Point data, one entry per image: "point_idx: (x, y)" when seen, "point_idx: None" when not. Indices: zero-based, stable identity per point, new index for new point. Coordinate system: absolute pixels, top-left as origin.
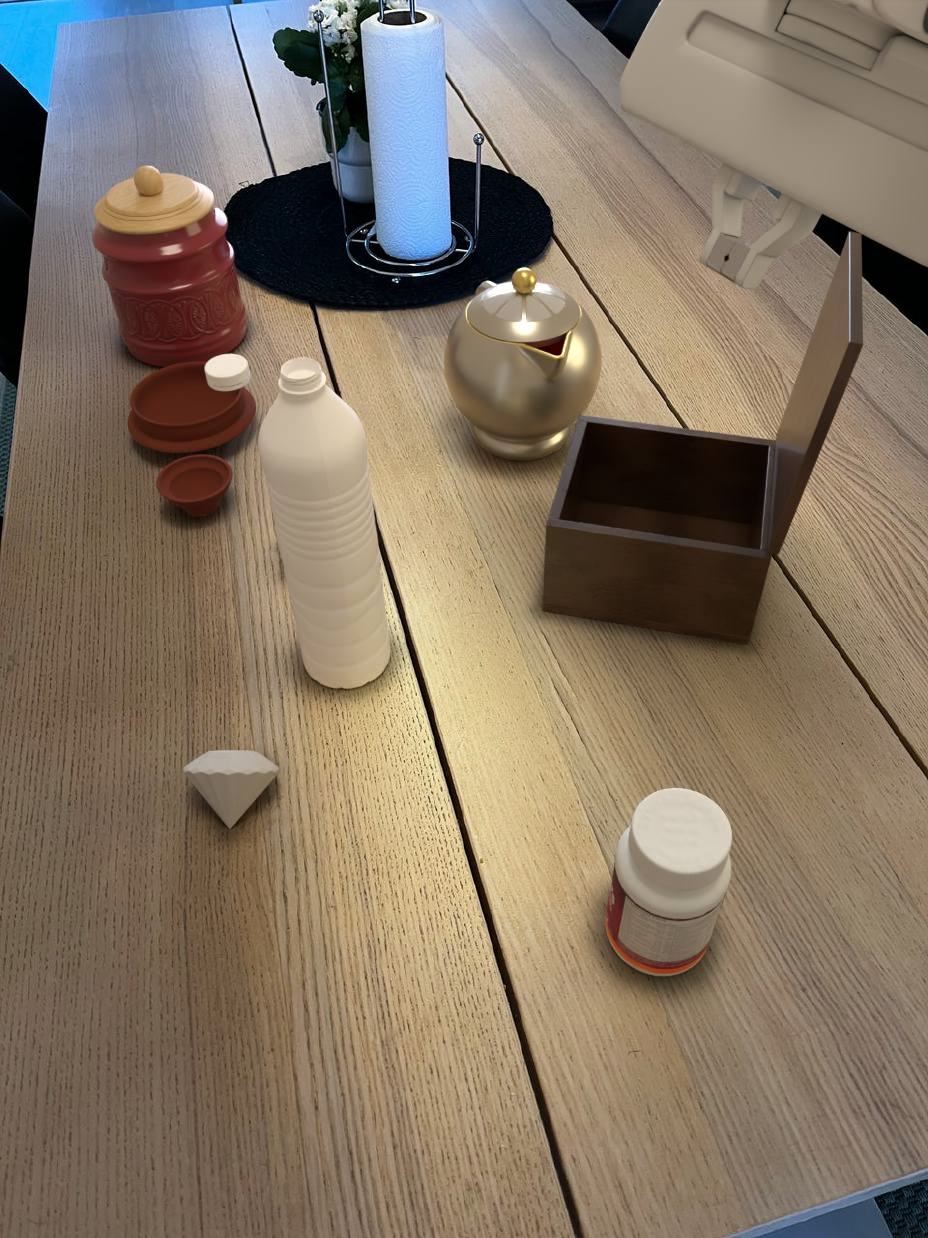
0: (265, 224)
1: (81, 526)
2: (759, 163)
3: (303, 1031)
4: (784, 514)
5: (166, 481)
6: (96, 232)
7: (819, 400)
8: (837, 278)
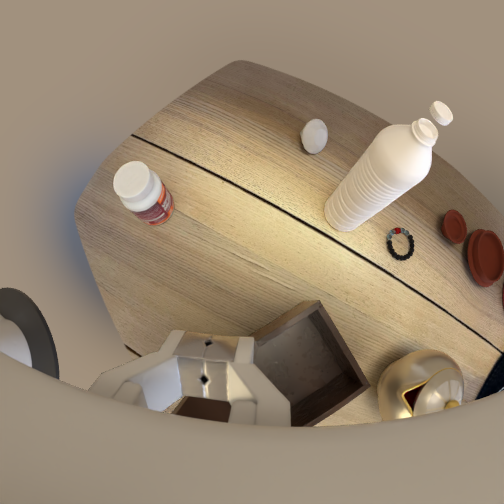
0: None
1: (455, 190)
2: (167, 429)
3: (222, 112)
4: None
5: (459, 219)
6: None
7: None
8: None
